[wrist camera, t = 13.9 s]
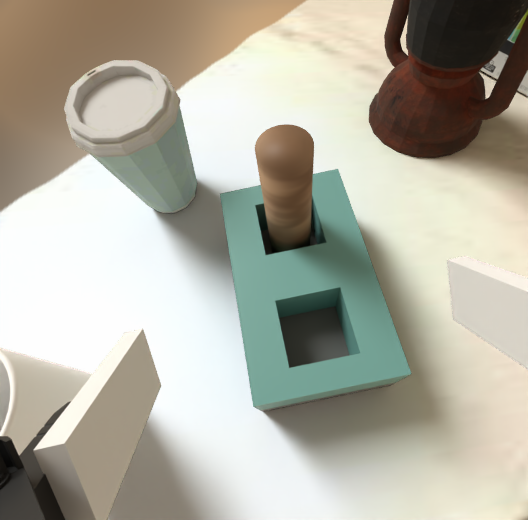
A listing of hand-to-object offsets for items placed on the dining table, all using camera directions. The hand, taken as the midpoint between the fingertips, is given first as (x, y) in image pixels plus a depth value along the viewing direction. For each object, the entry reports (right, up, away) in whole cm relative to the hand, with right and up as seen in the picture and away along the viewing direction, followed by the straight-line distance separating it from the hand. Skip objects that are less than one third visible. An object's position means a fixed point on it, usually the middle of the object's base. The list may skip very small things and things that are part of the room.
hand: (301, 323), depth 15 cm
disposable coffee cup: (-13, +11, +30) cm, 35 cm away
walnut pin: (+1, +4, +22) cm, 23 cm away
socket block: (+2, -1, +22) cm, 22 cm away
